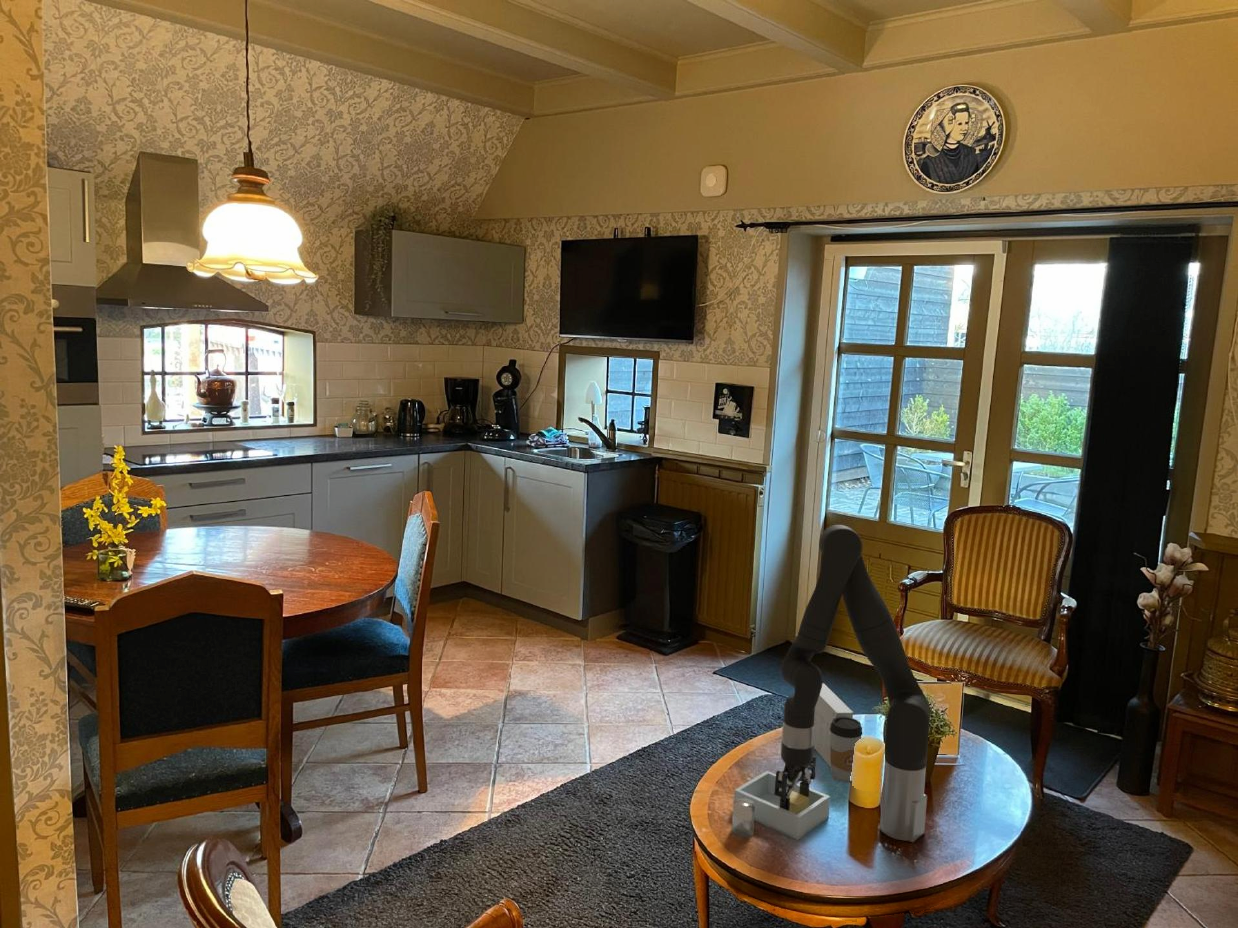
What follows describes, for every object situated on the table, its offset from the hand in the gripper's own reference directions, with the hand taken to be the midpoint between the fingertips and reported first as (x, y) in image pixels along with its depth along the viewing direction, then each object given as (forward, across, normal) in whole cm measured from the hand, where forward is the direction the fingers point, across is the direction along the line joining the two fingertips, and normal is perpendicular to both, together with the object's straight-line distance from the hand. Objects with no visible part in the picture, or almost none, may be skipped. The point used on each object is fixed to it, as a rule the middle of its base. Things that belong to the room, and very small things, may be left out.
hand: (794, 804), depth 222 cm
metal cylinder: (+4, +13, -6) cm, 15 cm away
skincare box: (+4, -38, -14) cm, 41 cm away
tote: (+4, 0, -4) cm, 5 cm away
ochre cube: (+3, 0, 0) cm, 3 cm away
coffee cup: (+4, -28, -2) cm, 28 cm away
